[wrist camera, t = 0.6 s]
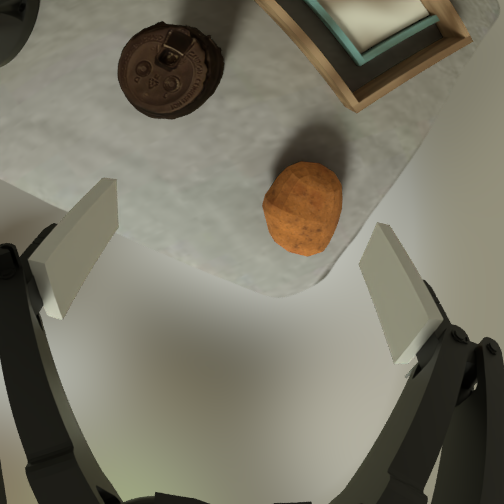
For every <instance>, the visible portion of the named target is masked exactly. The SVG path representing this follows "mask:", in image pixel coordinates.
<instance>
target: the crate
mask: <svg viewBox="0 0 504 504" xmlns="http://www.w3.org/2000/svg"><path fill="white" fill-rule="evenodd" d="M254 1H255V2H256V3H257V4H258V5H259V6H260V7H261V8H262V9H263V10H264V11H265V12H266V13H267V14H268V15H269V16H270V17H271V18H272V19H273V20H274V21H275V22H276V23H277V24H278V25H279V26H280V27H281V28H282V30H283V31H284V32H285V33H286V34H287V35H288V36H289V37H290V38H291V39H292V41H293V42H294V43H295V44H296V45H297V46H298V47H299V49H300V50H301V51H302V52H303V53H304V55H305V56H306V57H307V58H308V59H309V61H310V62H311V63H312V64H313V65H314V67H315V68H316V69H317V70H318V72H319V73H320V74H321V75H322V77H323V78H324V79H325V81H326V82H327V83H328V85H329V86H330V87H331V88H332V90H333V91H334V93H335V94H336V95H337V97H338V98H339V99H340V101H341V102H342V103H343V105H344V106H345V107H347V108H348V109H350V110H352V111H354V112H355V113H358V112H360V111H361V110H363V109H364V108H366V107H367V106H369V105H370V104H372V103H373V102H375V101H376V100H378V99H379V98H381V97H383V96H384V95H386V94H387V93H389V92H390V91H392V90H393V89H395V88H397V87H398V86H400V85H401V84H403V83H404V82H406V81H408V80H409V79H411V78H412V77H414V76H416V75H417V74H419V73H421V72H422V71H424V70H425V69H427V68H429V67H430V66H432V65H434V64H435V63H437V62H439V61H440V60H442V59H444V58H445V57H447V56H449V55H451V54H452V53H454V52H456V51H457V50H459V49H461V48H463V47H464V46H466V45H468V44H470V43H471V42H473V40H472V38H471V36H470V34H469V33H468V31H467V29H466V27H465V25H464V24H463V22H462V20H461V18H460V17H459V15H458V13H457V12H456V10H455V8H454V7H453V5H452V4H451V2H450V0H303V1H304V2H305V3H306V4H307V5H308V6H309V7H310V8H311V9H312V11H313V12H314V13H315V14H316V15H317V16H318V17H319V19H320V20H321V21H322V22H323V23H324V24H325V26H326V27H327V28H328V29H329V30H330V32H331V33H332V34H333V35H334V36H335V38H336V39H337V40H338V41H339V43H340V44H341V45H342V47H343V48H344V49H345V50H346V52H347V53H348V54H349V56H350V57H351V58H352V60H353V61H354V62H355V64H356V65H357V66H361V65H363V64H365V63H366V62H368V61H369V60H371V59H373V58H374V57H376V56H378V55H379V54H381V53H382V52H384V51H386V50H387V49H389V48H391V47H393V46H394V45H396V44H398V43H399V42H401V41H403V40H405V39H406V38H408V37H410V36H412V35H414V34H415V33H417V32H419V31H421V30H423V29H425V28H426V27H428V26H430V25H432V24H434V23H435V24H436V26H437V27H438V29H439V30H440V32H441V34H442V35H443V38H442V39H440V40H438V41H436V42H434V43H433V44H431V45H429V46H427V47H426V48H424V49H422V50H420V51H419V52H417V53H415V54H414V55H412V56H410V57H409V58H407V59H405V60H404V61H402V62H400V63H399V64H397V65H395V66H394V67H392V68H390V69H389V70H387V71H386V72H384V73H382V74H381V75H379V76H378V77H376V78H375V79H373V80H371V81H370V82H368V83H367V84H365V85H364V86H362V87H361V88H359V89H358V90H356V91H354V92H353V93H352V92H351V91H350V90H349V88H348V87H347V85H346V84H345V83H344V81H343V80H342V79H341V77H340V76H339V75H338V73H337V72H336V71H335V69H334V68H333V67H332V65H331V64H330V63H329V61H328V60H327V59H326V58H325V56H324V55H323V54H322V53H321V51H320V50H319V49H318V48H317V47H316V45H315V44H314V43H313V42H312V41H311V39H310V38H309V37H308V36H307V35H306V34H305V32H304V31H303V30H302V29H301V28H300V27H299V26H298V25H297V23H296V22H295V21H294V20H293V19H292V18H291V17H290V16H289V15H288V14H287V13H286V12H285V11H284V10H283V8H282V7H281V6H280V5H279V4H278V3H277V2H276V1H275V0H254ZM423 5H424V6H423ZM425 8H426V9H425ZM427 11H428V12H427ZM429 14H430V16H429V17H427V18H425V19H423V20H421V21H419V22H417V23H415V24H413V23H414V22H416V21H418V20H420V19H422V18H424V17H426V16H428V15H429ZM411 24H413V25H412V26H410V27H408V28H406V29H404V30H402V29H403V28H405V27H407V26H409V25H411ZM400 30H402V31H401V32H399V33H397V34H395V35H394V36H392V37H390V38H388V39H387V40H385V41H383V42H381V41H382V40H384V39H386V38H387V37H389V36H391V35H393V34H394V33H396V32H398V31H400ZM379 42H381V43H380V44H378V45H376V46H375V47H373V48H371V49H370V50H368V51H366V50H367V49H369V48H370V47H372V46H374V45H375V44H377V43H379ZM364 51H366V52H365V53H363V54H362V55H361V53H362V52H364Z"/></svg>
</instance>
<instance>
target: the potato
mask: <svg viewBox="0 0 504 504" xmlns="http://www.w3.org/2000/svg"><path fill="white" fill-rule="evenodd" d="M262 207H263V210H264V214H265V218H266V222H267V226H268V230H269V233H270V234H271V236H272V238H273V239H274V241H275V242H276V243H278V244H279V245H280V246H282V247H283V248H284V249H286V250H287V251H289V252H292V253H296V254H300V255H304V256H311V255H314V254H317V253H320V252H323V251H324V249H325V248H326V247H327V245H328V244H329V242H330V240H331V238H332V236H333V234H334V232H335V229H336V226H337V224H338V221H339V217H340V214H341V210H342V185H341V183H340V181H339V180H338V178H337V176H336V175H335V173H334V172H333V171H331V170H329V169H328V168H326V167H325V166H323V165H321V164H320V163H312V162H302V161H300V162H298V163H295V164H293V165H291V166H288V167H287V168H286V169H285V170H284V171H283V172H282V173H281V174H280V175H279V176H278V177H277V178H276V180H275V181H274V183H273V184H272V186H271V187H270V189H269V190H268V191H267V193H266V194H265V197H264V201H263V205H262Z"/></svg>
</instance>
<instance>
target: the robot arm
mask: <svg viewBox="0 0 504 504" xmlns="http://www.w3.org/2000/svg"><path fill="white" fill-rule="evenodd" d="M38 6H39V0H0V67H2V66H4V65H6V64H7V63H9V62H10V61H11V60H12V59H13V58H14V57H15V56H16V55H17V54H18V53H19V52H20V50H21V49H22V48H23V46H24V45H25V43H26V41H27V39H28V38H29V36H30V34H31V31H32V29H33V26H34V24H35V20H36V17H37V12H38ZM118 227H119V225H118V208H117V179H110V178H102V179H101V180H100V181H99V182H98V183H97V184H96V185H95V186H94V187H93V188H92V189H91V190H90V191H89V192H88V193H87V194H86V195H85V196H84V197H83V198H82V199H81V200H80V201H79V202H78V203H77V204H76V205H75V206H74V207H73V208H72V209H71V210H70V211H69V213H68V214H67V215H66V216H65V217H64V218H63V219H62V220H61V221H60V222H59V223H58V224H55V223H53V224H51V225H50V226H48V227H47V228H45V229H44V230H43V231H42V232H41V233H40V234H39V235H38V237H37V238H36V239H35V240H34V241H33V242H32V244H30V246H29V247H28V248H27V249H26V250H25V251H24V253H23V254H22V255H21V256H20V257H19V255H18V252H17V249H16V246H15V245H13V244H10V243H5V244H1V245H0V360H1V365H2V371H3V376H4V381H5V385H6V390H7V394H8V398H9V402H10V406H11V410H12V413H13V417H14V420H15V424H16V427H17V430H18V433H19V436H20V439H21V442H22V445H23V448H24V451H25V454H26V456H27V460H28V464H27V466H26V467H25V470H26V475H27V478H28V481H29V484H30V486H31V488H32V490H33V493H34V495H35V497H36V499H37V501H38V503H39V504H209V503H206V502H203V501H200V500H197V499H194V498H188V497H181V496H175V495H169V494H164V493H158V492H155V496H147V497H139V498H135V499H131V500H128V501H126V502H123V501H122V500H121V498H120V497H119V495H118V494H117V492H116V490H115V489H114V487H113V486H112V484H111V483H110V481H109V480H108V479H107V477H106V476H105V475H104V473H103V472H102V470H101V468H100V467H99V465H98V463H97V461H96V459H95V458H94V456H93V454H92V452H91V450H90V448H89V446H88V444H87V442H86V440H85V438H84V436H83V434H82V432H81V429H80V428H79V425H78V423H77V421H76V418H75V416H74V414H73V411H72V409H71V407H70V405H69V402H68V400H67V397H66V394H65V392H64V389H63V386H62V384H61V381H60V378H59V375H58V372H57V369H56V367H55V363H54V360H53V357H52V354H51V351H50V348H49V344H48V341H47V338H46V334H45V330H44V326H43V322H42V319H41V316H40V314H39V311H40V310H41V308H42V306H44V308H45V311H46V313H47V315H48V316H51V317H54V318H58V319H61V320H63V319H64V317H65V315H66V313H67V311H68V310H69V308H70V306H71V304H72V302H73V300H74V299H75V297H76V295H77V293H78V292H79V290H80V288H81V286H82V285H83V283H84V281H85V279H86V277H87V276H88V274H89V273H90V271H91V269H92V268H93V266H94V264H95V263H96V261H97V260H98V258H99V256H100V255H101V253H102V252H103V250H104V249H105V247H106V245H107V244H108V242H109V241H110V239H111V238H112V236H113V235H114V233H115V232H116V230H117V229H118ZM359 267H360V269H361V272H362V274H363V277H364V279H365V282H366V285H367V287H368V290H369V293H370V295H371V298H372V300H373V303H374V306H375V309H376V312H377V314H378V317H379V320H380V323H381V326H382V329H383V331H384V335H385V338H386V341H387V344H388V347H389V350H390V353H391V356H392V359H393V362H394V364H408V363H409V362H410V361H411V360H412V359H413V358H414V356H415V355H416V356H417V359H418V363H417V364H416V365H415V366H414V367H413V368H412V369H411V370H410V371H409V373H408V374H407V375H406V376H405V378H407V377H408V376H410V377H409V379H408V381H407V383H406V385H405V387H404V390H403V392H402V394H401V396H400V398H399V400H398V402H397V404H396V406H395V408H394V409H393V411H392V413H391V415H390V417H389V419H388V421H387V422H386V424H385V426H384V428H383V430H382V431H381V433H380V435H379V437H378V438H377V440H376V442H375V443H374V445H373V447H372V448H371V450H370V452H369V453H368V455H367V457H366V458H365V460H364V461H363V463H362V464H361V466H360V467H359V469H358V470H357V472H356V473H355V475H354V476H353V478H352V479H351V481H350V482H349V483H348V485H347V486H346V488H345V489H344V490H343V491H342V492H341V493H340V494H339V495H338V496H337V497H336V498H334V499H333V500H332V501H331V502H330V503H329V504H427V502H428V498H427V496H426V495H425V494H424V493H423V490H424V487H425V485H426V483H427V480H428V478H429V476H430V474H431V472H432V469H433V467H434V465H435V462H436V460H437V457H438V455H439V452H440V449H441V447H442V451H441V458H440V464H439V469H438V474H437V480H436V484H435V489H434V493H433V498H432V502H431V504H504V364H503V357H502V352H501V349H500V347H499V345H498V343H497V342H496V341H495V340H493V339H491V338H489V337H485V338H483V340H482V341H481V342H480V343H479V344H476V343H474V342H471V341H470V340H469V338H468V335H467V334H466V333H465V331H464V330H463V329H461V328H460V327H458V326H456V325H452V324H451V323H450V321H449V319H448V317H447V315H446V313H445V312H444V310H443V307H442V306H441V304H439V303H440V302H439V300H438V298H437V297H436V295H435V293H434V291H433V289H432V287H431V286H430V285H429V284H428V283H427V282H426V281H425V280H422V278H421V277H420V274H419V273H418V271H417V269H416V267H415V266H414V264H413V263H412V261H411V259H410V258H409V256H408V254H407V252H406V251H405V249H404V248H403V246H402V245H401V243H400V241H399V239H398V238H397V236H396V235H395V233H394V231H393V230H392V228H391V227H390V225H386V224H382V223H378V222H377V224H376V226H375V229H374V231H373V234H372V236H371V238H370V240H369V242H368V245H367V247H366V249H365V252H364V254H363V256H362V258H361V260H360V263H359ZM477 382H478V383H477ZM476 383H477V387H476V389H475V390H474V385H475V384H476ZM0 504H7V500H6V495H5V488H4V482H3V476H2V469H1V462H0ZM274 504H312V503H311V502H298V503H274Z"/></svg>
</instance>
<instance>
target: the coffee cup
mask: <svg viewBox="0 0 504 504" xmlns="http://www.w3.org/2000/svg"><path fill="white" fill-rule="evenodd" d="M221 51H222V50H221V48H219V47H218V46H217V45H216V43H215V42H214V41H213V40H212V39H211V35H208V36H206V35H204V34H202V33H201V32H200V31H199V30H198V29H197V28H194V27H190V26H187V25H186V26H182V25H173V24H166V23H164V22H163V21H161V22H158V23H156V24H155V25H152V26H150V27H148V28H144V29H143V30H141V31H140V32H139V33H137V34H135V35H134V36H133V37H132V38H131V39H130V40H129V41H128V43H127V44H126V46H125V47H124V48H123V50H122V53H121V57H120V59H119V63H118V81H119V83H120V87H121V89H122V91H123V92H124V94H125V96H126V98H127V99H128V101H129V102H130V103H131V104H132V105H133V106H134V107H135V108H136V109H137V110H138V111H139V112H141V113H143V114H144V115H146V116H148V117H151V118H158V119H176V118H179V117H182V116H185V115H188V114H190V113H192V112H193V111H195V110H196V109H198V108H199V107H200V106H201V105H203V104H204V103H205V102H206V100H207V99H208V98H209V97H210V96H212V95H213V94H214V92H215V90H216V88H217V87H218V85H219V83H220V80H221V78H222V75H223V70H224V67H223V66H224V62H223V56H222V54H221Z"/></svg>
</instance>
